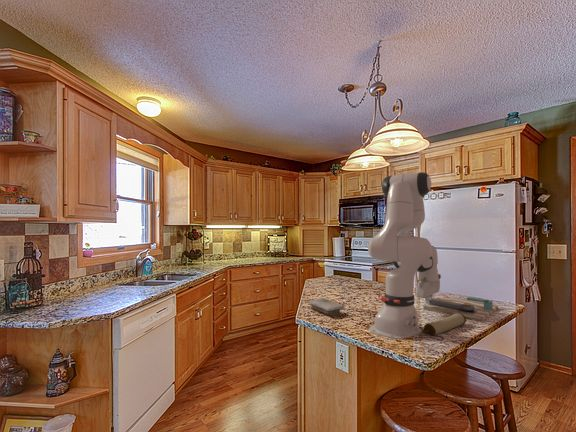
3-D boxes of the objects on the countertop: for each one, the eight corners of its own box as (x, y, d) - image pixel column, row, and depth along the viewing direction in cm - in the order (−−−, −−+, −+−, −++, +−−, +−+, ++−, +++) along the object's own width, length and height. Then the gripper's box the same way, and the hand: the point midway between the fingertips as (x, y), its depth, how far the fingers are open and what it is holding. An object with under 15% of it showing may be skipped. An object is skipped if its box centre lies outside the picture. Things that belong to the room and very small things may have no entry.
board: (482, 321, 138) (482, 317, 138) (423, 309, 156) (423, 306, 156) (497, 308, 158) (497, 305, 158) (444, 299, 176) (444, 296, 176)
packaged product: (323, 306, 163) (307, 309, 158) (323, 297, 163) (307, 300, 158) (345, 315, 147) (328, 318, 142) (345, 305, 147) (328, 308, 142)
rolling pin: (429, 341, 116) (429, 328, 116) (416, 336, 121) (416, 323, 121) (471, 324, 134) (471, 313, 134) (458, 321, 139) (458, 310, 139)
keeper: (490, 310, 148) (490, 301, 148) (466, 306, 156) (466, 297, 156) (492, 309, 150) (492, 300, 150) (468, 305, 158) (468, 296, 158)
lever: (475, 309, 148) (475, 303, 148) (472, 312, 144) (472, 305, 144) (431, 301, 163) (431, 295, 163) (427, 303, 159) (427, 297, 159)
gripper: (426, 280, 146) (426, 309, 146) (442, 274, 160) (442, 300, 160) (413, 278, 151) (413, 306, 151) (429, 273, 165) (430, 298, 165)
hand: (428, 303), depth 156 cm, fingers closed
